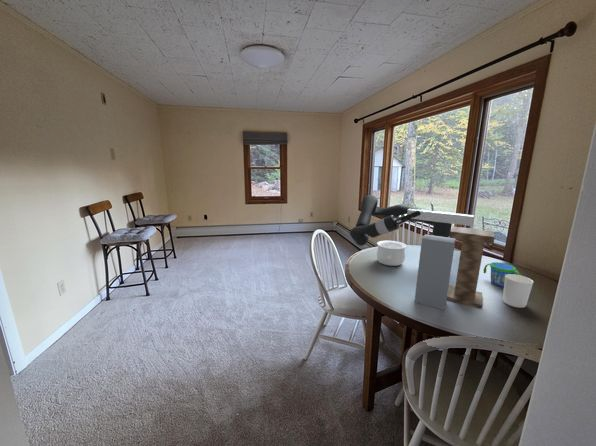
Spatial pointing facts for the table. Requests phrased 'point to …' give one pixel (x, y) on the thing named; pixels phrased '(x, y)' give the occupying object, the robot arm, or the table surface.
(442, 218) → the aluminium bar
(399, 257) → the pot
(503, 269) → the snack cup
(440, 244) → the slate plinth
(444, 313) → the table surface
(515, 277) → the candle holder
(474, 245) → the walnut pedestal
